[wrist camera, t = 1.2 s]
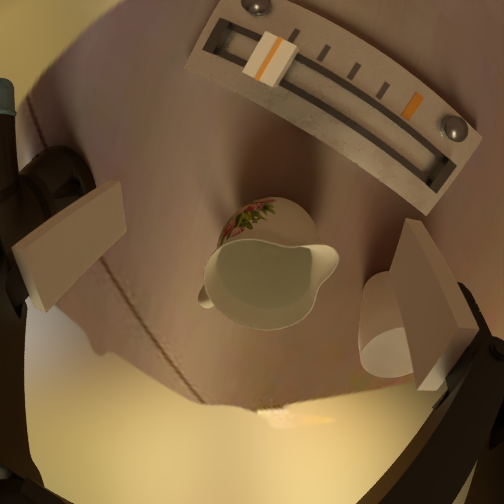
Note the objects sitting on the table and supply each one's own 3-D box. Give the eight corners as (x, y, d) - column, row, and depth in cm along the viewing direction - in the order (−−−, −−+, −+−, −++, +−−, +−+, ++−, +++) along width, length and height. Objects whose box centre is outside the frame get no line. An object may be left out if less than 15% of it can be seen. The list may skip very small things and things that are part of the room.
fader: (253, 74, 28) (241, 72, 23) (274, 39, 25) (265, 30, 21) (279, 87, 28) (271, 87, 23) (300, 52, 26) (297, 45, 21)
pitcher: (195, 231, 42) (147, 292, 30) (305, 153, 33) (296, 194, 22) (245, 288, 45) (218, 360, 33) (356, 228, 36) (368, 298, 25)
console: (190, 69, 30) (175, 68, 27) (237, -16, 24) (227, -26, 21) (421, 209, 33) (430, 223, 30) (475, 135, 27) (490, 141, 23)
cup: (395, 250, 37) (415, 312, 27) (425, 292, 39) (446, 355, 29) (341, 286, 41) (343, 352, 31) (375, 323, 43) (382, 387, 33)
